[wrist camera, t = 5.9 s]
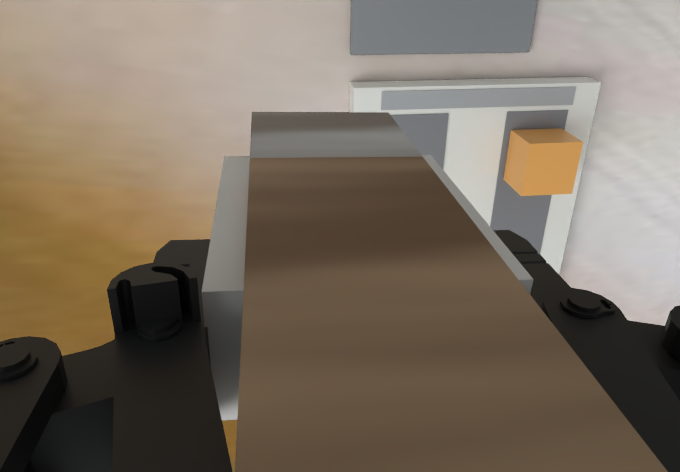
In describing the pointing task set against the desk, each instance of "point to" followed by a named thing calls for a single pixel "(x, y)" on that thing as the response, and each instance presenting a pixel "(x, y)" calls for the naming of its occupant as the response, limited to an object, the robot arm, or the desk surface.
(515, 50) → the mat
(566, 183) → the tab
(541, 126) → the switch board
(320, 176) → the wooden beam block
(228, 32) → the desk surface
